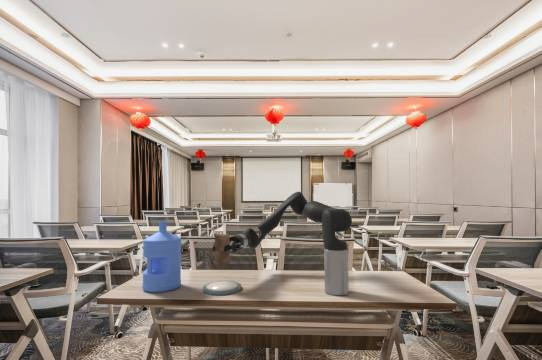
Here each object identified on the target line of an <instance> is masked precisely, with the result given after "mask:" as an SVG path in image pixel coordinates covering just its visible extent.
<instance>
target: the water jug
mask: <svg viewBox="0 0 542 360" xmlns="http://www.w3.org/2000/svg"><path fill="white" fill-rule="evenodd" d="M167 222H168V221H159V222H158V224H159V225H158V231H157V232H156V233H154V234H151V235H149V236H148V237H147V238H146V237H145V238H144V239H143V243H142V246H143V247H142V250H143V253H142V255H143V257H144V258H146V269H145V270H144V271H143V272H142V284H141V285H142V287H141V288H142V290H143V291H144V292H147V293H167V292H170V291H174V290H176V289H178V288H180V286H181V284H182V278H181V274H182V273H181V269H182V255H181V254H182V238H181V236H179V235H176V234H174V233H171V232H169V231H168V230H167V226H168V225H167Z"/></svg>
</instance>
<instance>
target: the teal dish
mask: <svg viewBox="0 0 542 360" xmlns="http://www.w3.org/2000/svg"><path fill="white" fill-rule="evenodd" d="M241 290H242V284H241V283H239V282H237V281H234V280H233V281H232V280H219V281H212V282H209V283H206V284H205V285H203V286H202V292H203V293H204V294H206V295H210V296H227V295H228V296H229V295H233V294H236V293H238V292H240V291H241Z"/></svg>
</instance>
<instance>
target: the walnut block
mask: <svg viewBox="0 0 542 360" xmlns="http://www.w3.org/2000/svg"><path fill="white" fill-rule="evenodd" d="M229 237H230V234H229V233H228V234H227V233H219V234H215V235H214V243H215V251H214V265H221V266H222V265H223V266H225V265H227V264H229V263H230V251H226V252H224V246H227V245H229Z"/></svg>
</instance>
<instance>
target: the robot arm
mask: <svg viewBox="0 0 542 360" xmlns="http://www.w3.org/2000/svg"><path fill="white" fill-rule="evenodd" d="M289 207H290V208H291V210H292V212H293V213H294V214H295V215H299V216H303V217H304V218H305V217H306V218H307V219H309V220H311V221H313V222H316V223H321V229H322V242H323V253H324V254H323V257H324V258H323V259H324V260H323V261H324V264H323V265H324V266H323V267H324V293H326V294H328V295H332V296H348V295H349V291H350V287H349V286H350V284H349V283H350V281H349V267H348V266H349V265H348V263H349V261H348V243H347V242H346V241H345V240H342V239H339V238H338V236H336V235H337V234H336V233H342V232H347V231H348V230H349V229H351V227H352V225H353V218H352V216H351V214H350V213H349V211H347V210H346V209H343V208H334V207H332V206H329V205H327V204H325V203H322V202H320V201H316V200H311V201H307V199H306V197H305V196H304V194H303V193H302V192H301V191H295V192H294V193H292V194H291V195H289V196H288V197H287V198H286V199H285V200H284V201H283V202H282V203H281V204H280V205H279V206H278V207H277V208H276V209H275V210H274V211H273V212H272V213H271V214H270V215H268V217H266V218H264V219H263V220H262V221H261V222H259V223H258V224H257V230H259V235H258V234H257V233H256V231H255V229H254V228H252V227H248V228H246V229H245V230H244V231H243V232H242V233H238V234H234V235H231V236H230V235H229V245H227V246H224V252H226V251H229V253H237V252H240V251H242V250H244V249H245V248H250V249H256V248H258V247H259V246H260V244H261V242H262V241H263V239H265V237H266V236H267V235H268V234H270V233H271V232H272V231H273V230H275V229H276V228H277V227H278V226H279V225H280V223H281V220H282V218H283V216H284V213H285V212H286V210H287V209H288V208H289ZM212 251H213V252H215V242H214V243H213V245H212Z"/></svg>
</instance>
